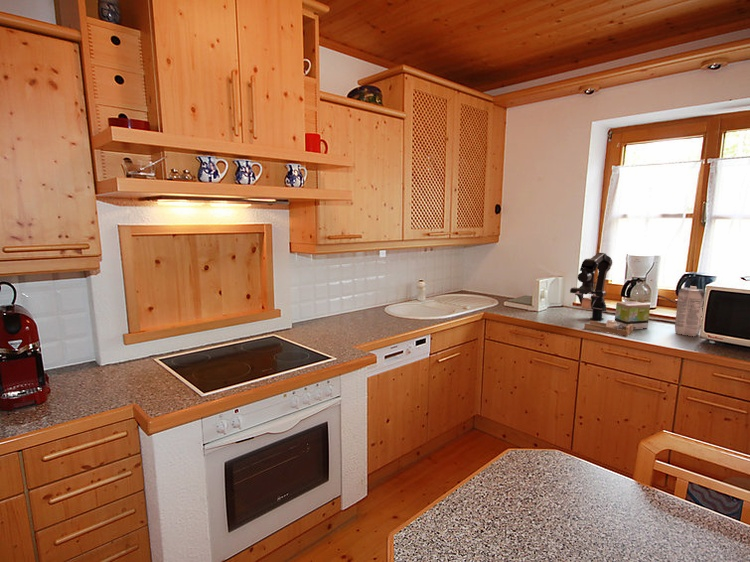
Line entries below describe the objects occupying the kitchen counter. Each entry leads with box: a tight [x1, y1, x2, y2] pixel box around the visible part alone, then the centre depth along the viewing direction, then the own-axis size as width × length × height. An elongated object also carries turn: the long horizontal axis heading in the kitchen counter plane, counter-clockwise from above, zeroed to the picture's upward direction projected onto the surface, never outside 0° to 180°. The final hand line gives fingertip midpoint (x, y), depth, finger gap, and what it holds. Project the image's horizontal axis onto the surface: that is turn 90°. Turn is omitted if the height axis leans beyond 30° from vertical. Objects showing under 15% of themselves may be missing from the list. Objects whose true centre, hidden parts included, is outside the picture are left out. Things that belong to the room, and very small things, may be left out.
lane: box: [583, 320, 634, 337], centre depth 240 cm, size 10×22×5 cm, turn 44°
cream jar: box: [605, 319, 617, 328], centre depth 239 cm, size 6×6×6 cm
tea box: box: [614, 301, 651, 330], centre depth 246 cm, size 15×10×15 cm, turn 105°
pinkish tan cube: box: [580, 297, 592, 310], centre depth 251 cm, size 6×6×6 cm
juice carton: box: [674, 285, 705, 338], centre depth 231 cm, size 9×10×27 cm
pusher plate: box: [616, 323, 623, 330], centre depth 236 cm, size 7×2×4 cm, turn 134°
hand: (586, 306), depth 251 cm, fingers closed on pinkish tan cube, 5 cm apart
